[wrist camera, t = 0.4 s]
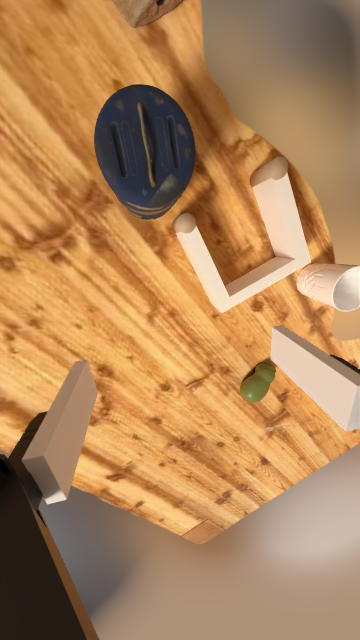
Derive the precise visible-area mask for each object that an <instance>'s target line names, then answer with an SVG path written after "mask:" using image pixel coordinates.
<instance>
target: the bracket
mask: <svg viewBox="0 0 360 640" xmlns="http://www.w3.org/2000/svg"><path fill="white" fill-rule="evenodd" d="M287 170H288V162H287V160H286V159H285V158H284V157H282V156H279V157H276V158H275V159H273V160H271V161H270V162H268V163H267V164H265V165H264V166H262V167H260V168H259V169H257V170H256V171H254V172H253V173H252V174H251V177H250V184H251V186H252V188H253V191H254V194H255V197H256V200H257V203H258V206H259V209H260V211H261V214H262V217H263V220H264V223H265V226H266V229H267V232H268V235H269V238H270V241H271V244H272V247H273V250H274V253H275V256H276V257H274V258H272V259H271V260H269V261H267V262H266V263H264V264H262V265H260V266H259V267H257V268H255V269H253V270H252V271H250V272H248V273H247V274H245V275H243V276H241V277H240V278H238V279H236V280H234V281H233V282H231V283H229V284H227V285H226V286H224V284H223V282H222V280H221V277H220V275H219V273H218V271H217V269H216V267H215V265H214V262H213V260H212V258H211V256H210V254H209V252H208V249H207V247H206V245H205V243H204V241H203V239H202V237H201V234H200V232H199V230H198V228H197V226H196V220H195V218H194V216H193V215H192V214H190V213H183V214H182V215H180V216H179V217H177V218H176V219H175V220H174V221H173V224H172V228H173V231H174V232H175V233H176V235H177V237H178V239H179V240H180V242H181V244H182V246H183V248H184V250H185V252H186V254H187V256H188V258H189V260H190V262H191V264H192V266H193V268H194V270H195V272H196V274H197V276H198V278H199V280H200V282H201V284H202V286H203V288H204V289H205V291H206V293H207V295H208V297H209V299H210V301H211V303H212V305H213V306H215V307H216V308H217V309H218V310H219V311H220V312H221V313H223V312H225V311H227V310H228V309H230V308H232V307H234V306H235V305H237V304H239V303H241V302H242V301H244V300H246V299H248V298H249V297H251V296H253V295H255V294H256V293H258V292H260V291H262V290H263V289H265V288H267V287H269V286H270V285H272V284H274V283H276V282H277V281H279V280H281V279H283V278H284V277H286V276H288V275H290V274H291V273H293V272H295V271H297V270H298V269H300V268H302V267H304V266H305V265H307V264H309V263H311V259H310V255H309V251H308V248H307V244H306V240H305V237H304V233H303V229H302V225H301V222H300V218H299V214H298V211H297V207H296V203H295V199H294V196H293V192H292V188H291V185H290V181H289V177H288V173H287Z"/></svg>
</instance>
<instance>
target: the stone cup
mask: <svg viewBox="0 0 360 640" xmlns="http://www.w3.org/2000/svg"><path fill="white" fill-rule="evenodd" d="M112 1H113V2H114V3H115V5H116V6H117V8H118V9H119V11H120V12H121V14H122V15H123V17H124V18H125V19H126V21H127V22H128V23H129V24H130V26H131V27H133V28H136V27H137V26H140V25H147V24H148V23H150V22H153V21H154V20H156V19H159V18H160V17H161V16H162V15H163V14H165V13H168V12H169V11H171V10H172V9H174V8H175V7H176V5H177V4H178V3H179V2H182V1H183V0H112Z"/></svg>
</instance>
